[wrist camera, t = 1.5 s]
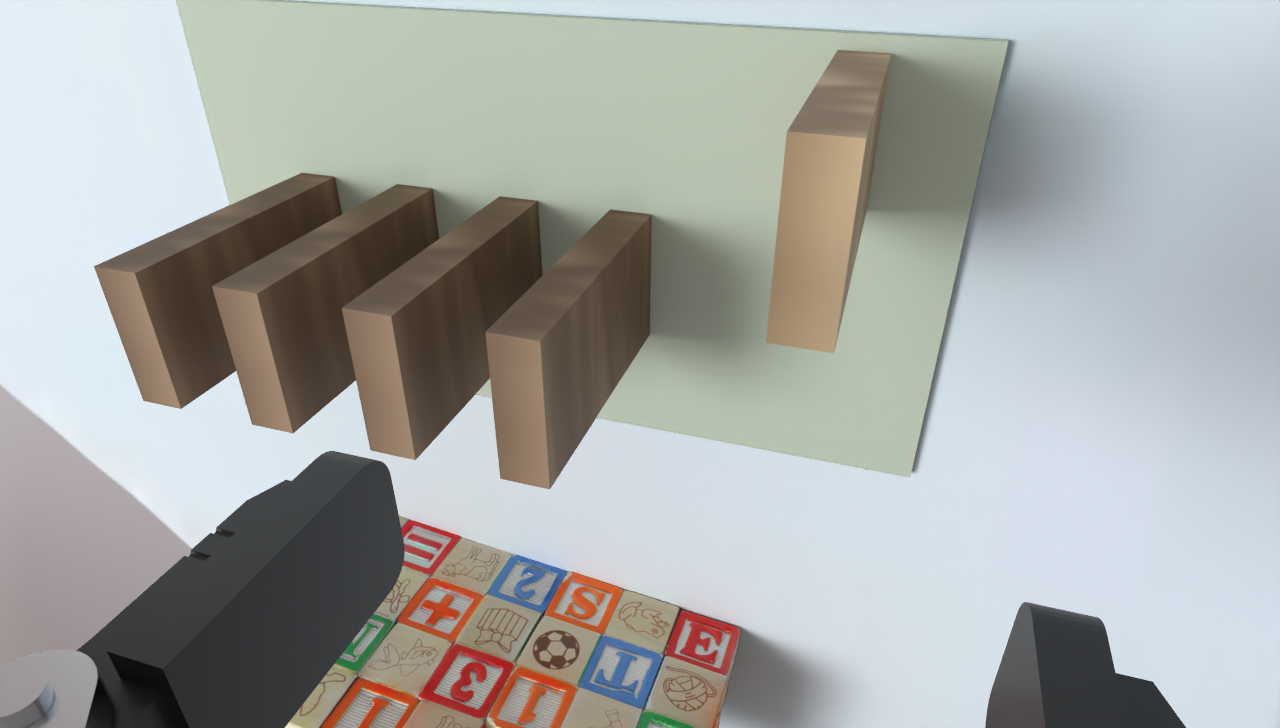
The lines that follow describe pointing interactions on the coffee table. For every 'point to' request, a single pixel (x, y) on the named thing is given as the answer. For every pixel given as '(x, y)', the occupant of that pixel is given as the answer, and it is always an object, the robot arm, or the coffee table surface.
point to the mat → (636, 181)
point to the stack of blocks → (520, 650)
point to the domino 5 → (825, 200)
